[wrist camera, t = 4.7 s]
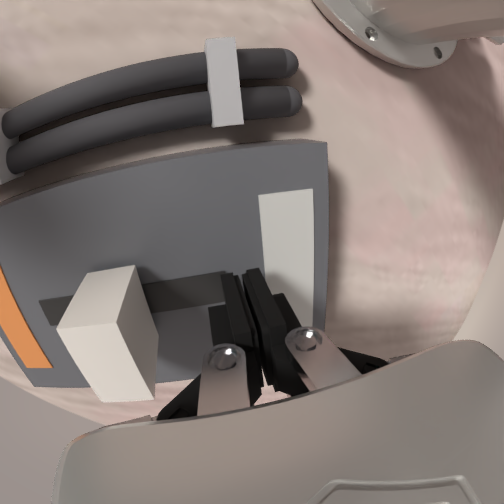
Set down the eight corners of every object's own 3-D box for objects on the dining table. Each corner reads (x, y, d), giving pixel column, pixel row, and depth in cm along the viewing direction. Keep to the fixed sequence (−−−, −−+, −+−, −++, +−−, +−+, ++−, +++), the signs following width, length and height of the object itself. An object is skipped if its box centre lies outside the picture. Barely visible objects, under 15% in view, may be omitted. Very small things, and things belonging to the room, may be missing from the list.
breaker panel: (302, 138, 14) (328, 142, 11) (306, 323, 19) (323, 352, 16) (-20, 210, 11) (-48, 227, 9) (45, 358, 16) (33, 387, 14)
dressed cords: (290, 49, 12) (307, 37, 10) (297, 120, 14) (315, 120, 11) (-31, 135, 9) (-55, 139, 7) (-22, 194, 11) (-44, 206, 9)
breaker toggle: (135, 264, 12) (116, 322, 8) (158, 335, 13) (154, 399, 10) (87, 273, 11) (56, 329, 8) (115, 341, 13) (101, 402, 9)
